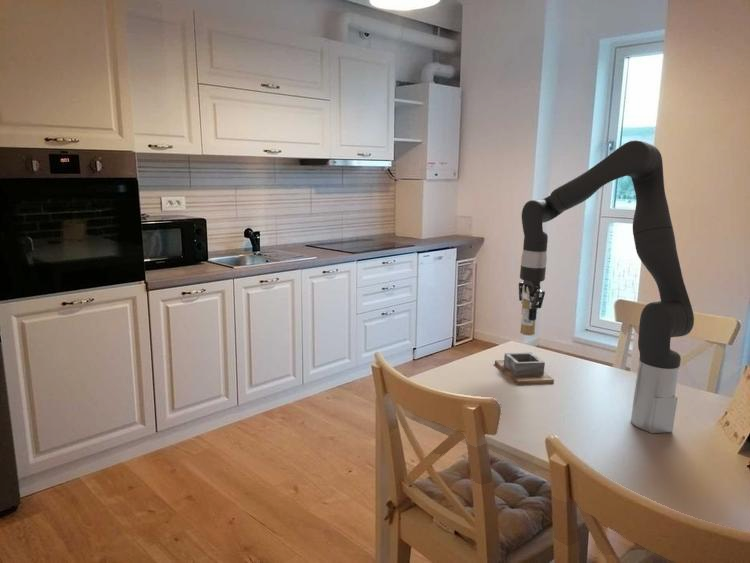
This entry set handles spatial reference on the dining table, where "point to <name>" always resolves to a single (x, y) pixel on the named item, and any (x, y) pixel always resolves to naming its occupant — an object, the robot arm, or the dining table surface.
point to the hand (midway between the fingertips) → (528, 317)
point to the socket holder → (524, 368)
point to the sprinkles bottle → (527, 324)
